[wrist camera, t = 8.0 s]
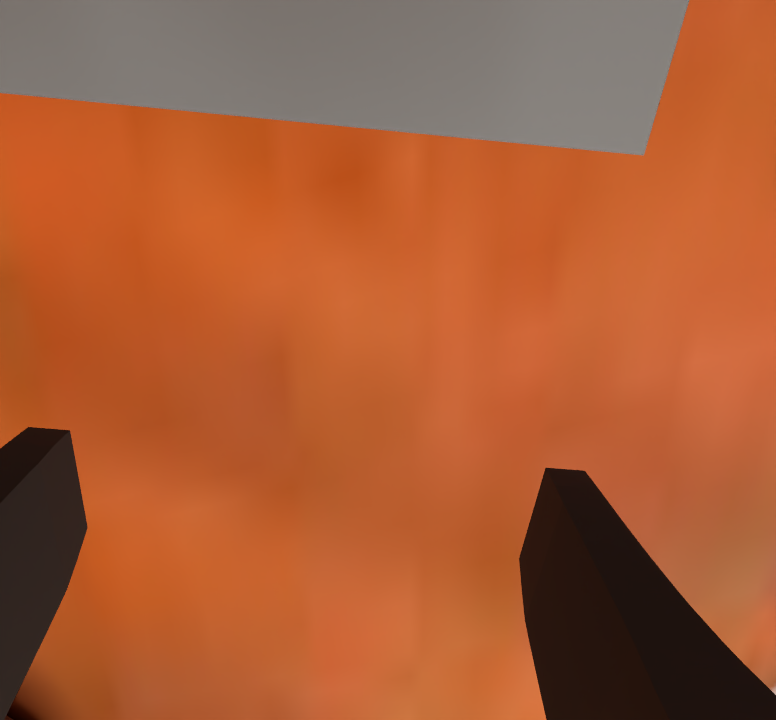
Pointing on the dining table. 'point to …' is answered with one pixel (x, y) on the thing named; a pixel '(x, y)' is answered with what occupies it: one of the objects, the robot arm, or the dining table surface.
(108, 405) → the dining table surface
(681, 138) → the dining table surface
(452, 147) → the dining table surface
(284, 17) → the holder
